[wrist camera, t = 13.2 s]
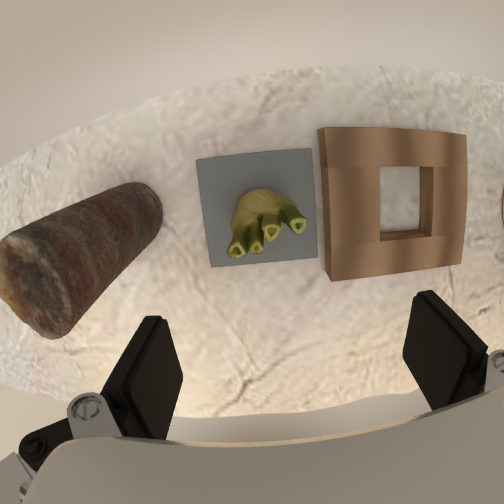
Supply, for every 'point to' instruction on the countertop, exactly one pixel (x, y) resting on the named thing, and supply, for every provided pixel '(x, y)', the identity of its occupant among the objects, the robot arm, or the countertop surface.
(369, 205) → the pocket holder
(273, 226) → the fennel bulb
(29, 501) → the robot arm
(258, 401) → the countertop surface
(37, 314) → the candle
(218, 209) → the mat
